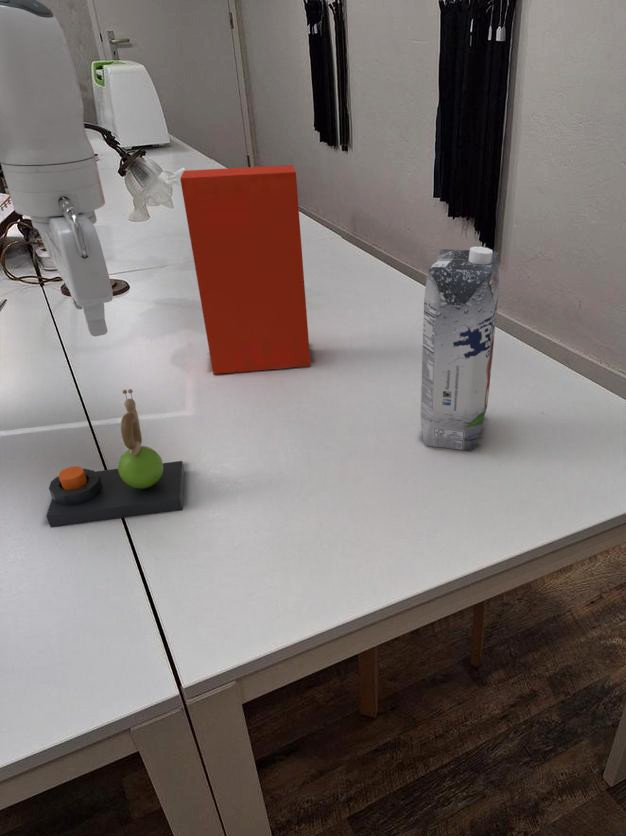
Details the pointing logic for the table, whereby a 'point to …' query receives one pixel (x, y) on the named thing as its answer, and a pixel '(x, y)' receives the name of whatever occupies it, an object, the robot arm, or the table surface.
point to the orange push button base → (115, 497)
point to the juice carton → (458, 346)
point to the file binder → (249, 266)
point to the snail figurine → (137, 452)
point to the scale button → (72, 478)
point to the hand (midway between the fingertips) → (90, 319)
